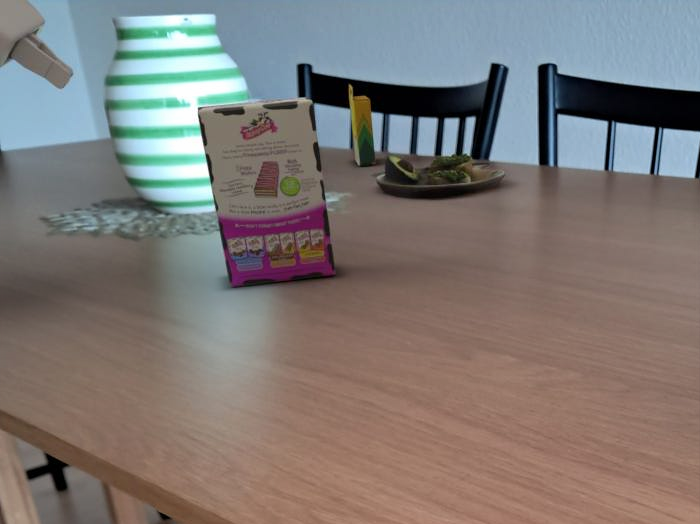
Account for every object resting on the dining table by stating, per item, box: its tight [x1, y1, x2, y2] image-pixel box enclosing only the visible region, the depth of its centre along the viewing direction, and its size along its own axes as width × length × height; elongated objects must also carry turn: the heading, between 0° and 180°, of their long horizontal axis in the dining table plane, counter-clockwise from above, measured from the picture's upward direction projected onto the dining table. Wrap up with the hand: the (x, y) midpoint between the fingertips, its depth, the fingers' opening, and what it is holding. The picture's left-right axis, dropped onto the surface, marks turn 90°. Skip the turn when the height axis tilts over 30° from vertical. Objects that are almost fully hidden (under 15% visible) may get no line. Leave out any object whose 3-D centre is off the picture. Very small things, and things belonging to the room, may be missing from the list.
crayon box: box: [348, 83, 376, 167], centre depth 167 cm, size 7×3×12 cm, turn 11°
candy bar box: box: [197, 96, 336, 288], centre depth 102 cm, size 11×5×16 cm, turn 105°
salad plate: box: [370, 152, 506, 200], centre depth 147 cm, size 19×18×5 cm
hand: (68, 81), depth 98 cm, fingers closed
